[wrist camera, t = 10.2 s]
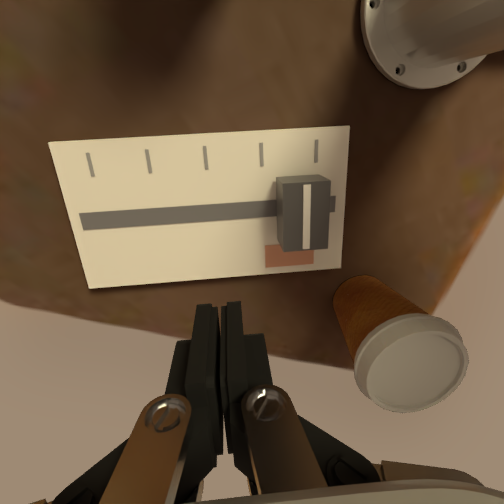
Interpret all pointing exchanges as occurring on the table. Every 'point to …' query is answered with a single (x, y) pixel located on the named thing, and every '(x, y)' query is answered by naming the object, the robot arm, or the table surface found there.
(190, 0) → the table surface
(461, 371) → the disposable coffee cup
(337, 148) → the fader console
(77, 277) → the table surface
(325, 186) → the fader knob
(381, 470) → the robot arm
